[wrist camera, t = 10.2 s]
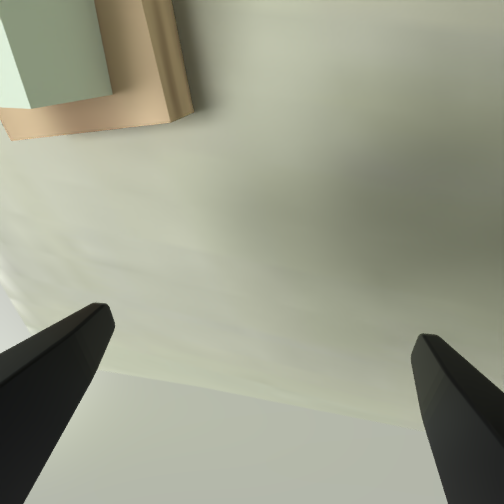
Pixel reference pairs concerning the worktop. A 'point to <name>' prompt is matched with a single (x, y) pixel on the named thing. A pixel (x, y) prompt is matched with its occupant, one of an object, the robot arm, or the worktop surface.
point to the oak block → (121, 77)
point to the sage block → (50, 53)
